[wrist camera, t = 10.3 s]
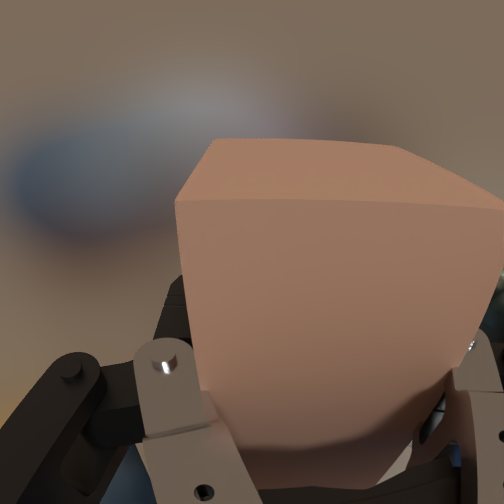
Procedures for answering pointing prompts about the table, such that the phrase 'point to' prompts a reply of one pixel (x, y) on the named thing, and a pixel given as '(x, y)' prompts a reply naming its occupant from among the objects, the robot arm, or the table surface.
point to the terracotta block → (330, 298)
